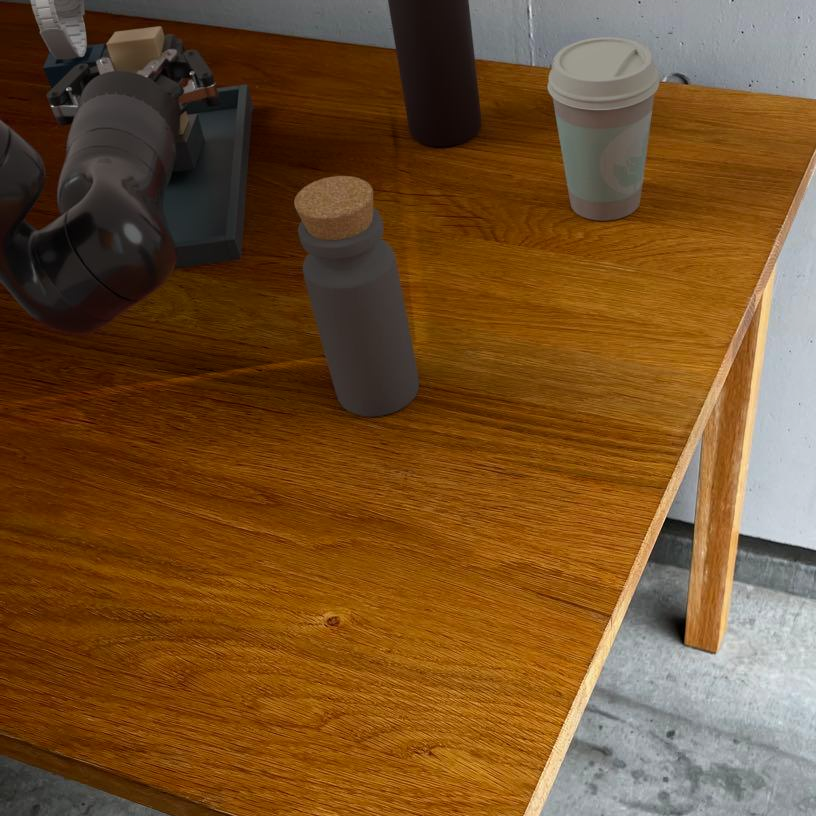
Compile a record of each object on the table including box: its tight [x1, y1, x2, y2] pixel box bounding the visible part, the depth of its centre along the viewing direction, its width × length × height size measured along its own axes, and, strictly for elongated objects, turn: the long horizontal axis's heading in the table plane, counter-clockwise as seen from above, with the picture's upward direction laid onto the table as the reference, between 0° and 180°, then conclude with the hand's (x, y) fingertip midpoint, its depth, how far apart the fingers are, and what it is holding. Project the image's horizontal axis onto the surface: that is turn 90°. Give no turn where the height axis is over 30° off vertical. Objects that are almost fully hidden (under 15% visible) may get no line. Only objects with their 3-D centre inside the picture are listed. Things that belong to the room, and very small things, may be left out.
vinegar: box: [387, 0, 482, 148], centre depth 90 cm, size 7×7×20 cm
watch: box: [30, 0, 108, 91], centre depth 105 cm, size 6×8×11 cm
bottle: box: [293, 175, 420, 418], centre depth 68 cm, size 6×6×15 cm
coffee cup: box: [547, 36, 660, 222], centre depth 83 cm, size 8×8×12 cm
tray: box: [163, 84, 255, 269], centre depth 93 cm, size 14×28×2 cm, turn 8°
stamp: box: [106, 25, 205, 172], centre depth 92 cm, size 5×8×10 cm, turn 8°
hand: (146, 49), depth 92 cm, fingers closed on stamp, 4 cm apart
